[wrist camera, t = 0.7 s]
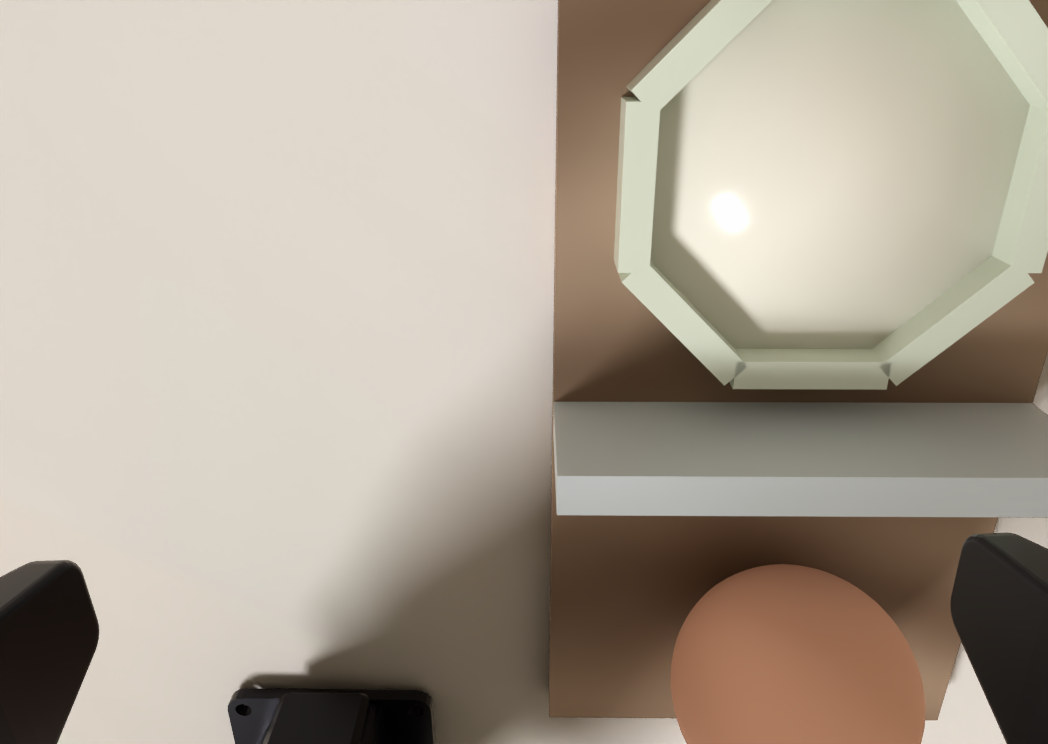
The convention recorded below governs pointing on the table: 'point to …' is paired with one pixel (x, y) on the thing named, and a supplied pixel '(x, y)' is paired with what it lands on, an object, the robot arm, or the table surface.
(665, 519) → the fence board
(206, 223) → the table surface
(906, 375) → the ring
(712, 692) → the rubber ball
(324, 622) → the table surface
